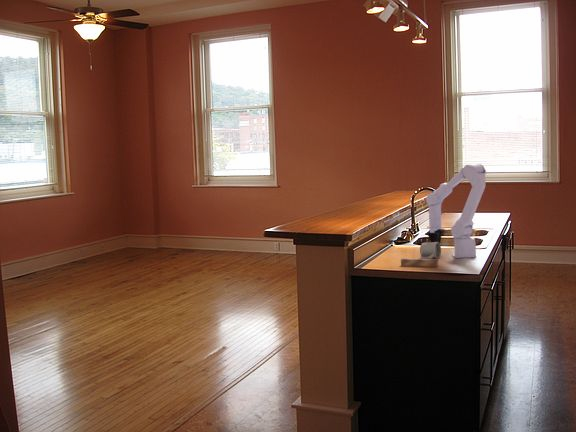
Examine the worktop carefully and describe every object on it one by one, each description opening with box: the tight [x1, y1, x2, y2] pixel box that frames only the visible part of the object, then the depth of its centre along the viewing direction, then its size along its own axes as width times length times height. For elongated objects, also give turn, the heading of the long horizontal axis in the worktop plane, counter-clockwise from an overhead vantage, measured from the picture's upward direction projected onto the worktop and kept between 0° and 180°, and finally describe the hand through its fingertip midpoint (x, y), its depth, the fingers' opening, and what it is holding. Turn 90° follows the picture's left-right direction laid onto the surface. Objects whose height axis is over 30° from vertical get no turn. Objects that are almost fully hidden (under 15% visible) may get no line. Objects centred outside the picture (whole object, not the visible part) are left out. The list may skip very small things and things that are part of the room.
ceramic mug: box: [419, 241, 442, 259], centre depth 305 cm, size 11×8×8 cm
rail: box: [400, 257, 439, 268], centre depth 287 cm, size 16×2×3 cm, turn 64°
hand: (435, 245), depth 316 cm, fingers open, 7 cm apart
